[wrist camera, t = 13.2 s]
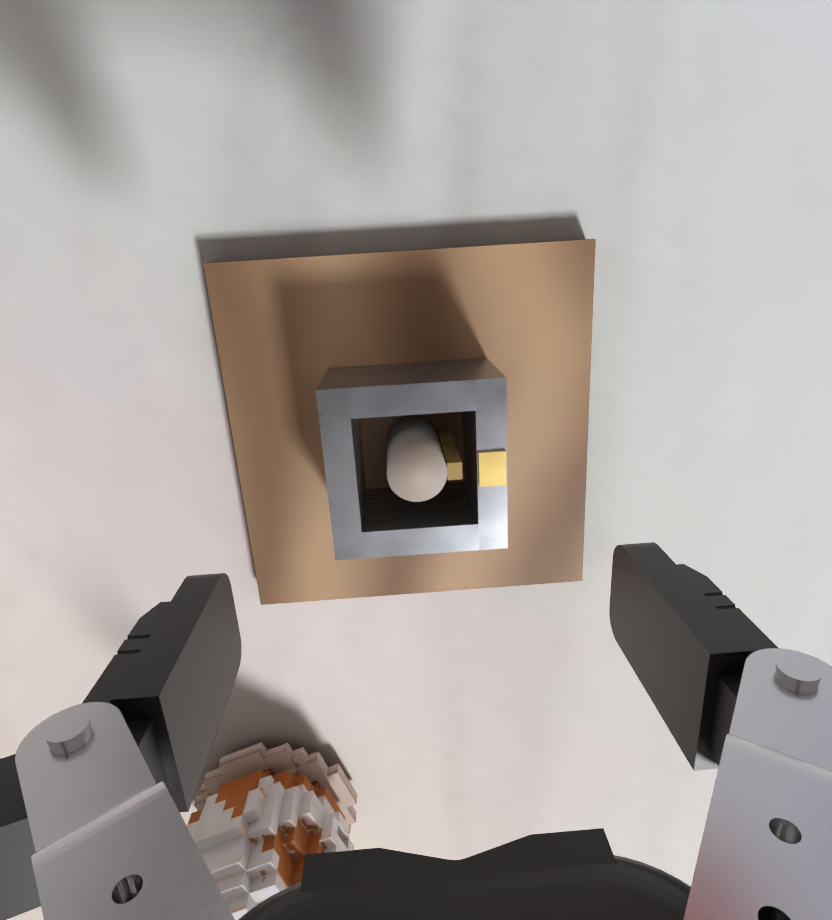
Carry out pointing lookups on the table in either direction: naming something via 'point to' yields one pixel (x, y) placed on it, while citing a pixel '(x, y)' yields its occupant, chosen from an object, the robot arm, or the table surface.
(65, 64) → the table surface
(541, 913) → the robot arm
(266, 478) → the tan square baseplate
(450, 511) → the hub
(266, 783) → the decorative ornament
